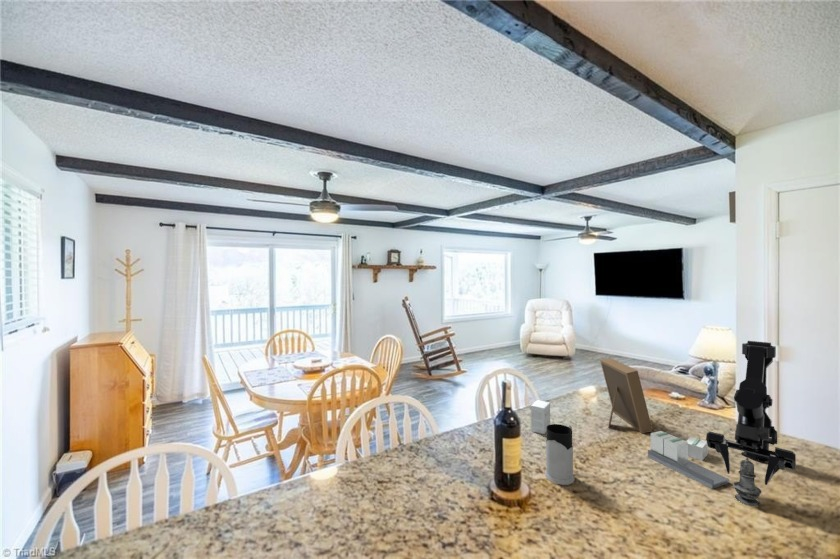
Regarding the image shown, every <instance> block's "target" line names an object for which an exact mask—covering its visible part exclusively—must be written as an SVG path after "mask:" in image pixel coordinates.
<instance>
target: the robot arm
mask: <svg viewBox="0 0 840 559" xmlns="http://www.w3.org/2000/svg"><path fill="white" fill-rule="evenodd" d="M741 348H742V349H741V350H742V351H741V354H742V355H744V358H745V359H746V360H747V364H746V369H745V370H746V372H745V379H743V380H742V381H741V382H740V383H739V387H738V389H736V390H735V393H734V396H733V400H734V402H735V404H736V409H737V413H738V416H737V423H736V424H735V431H734V432H735V433H734V440H735V441H733V440H728V439H727V438H725V434H721V433H717V432H714V431H708V432H706V436H705V441H707V444H708V448H710V449H714V450H715V452H716V453H718V454H720V455H721V458H722V459H723V462H724V465H725V470H726V472H727V474H728V475H730V473H731V463H730V452H729V448H730V449H733V450H737V451H741V452H740V455H742V456H745V457H746V458H748V459H749V458H750V459H752V460H755V461H757V462H760V463H763V464H766V463H767V467H766V468H767V469H766V472H765V475H764V485H765V486H768V484H769V483H770V482H771V480H772V478H773V477H774V475H775V474H776V473H777V472H778V471H780V470H782V471H785V470H786V469H788V470H793V471H794V470H796V462H797V461H796V459H797V454H796V453H795V452H794V451H793V450H790V449H789V450H788V449H784V448H780V447H777V446H776V447H775V448H774V450H770V445H772V446H774V445H777V444H778V430H776V428H775V426H773V424H772V422H773V421H772V419H771V418H770V416H769V415H768V414H767V412H766V411H767V409H768V408H771V407H772V406H773V403H774V402H773V400H774V399H772V397H771V395H770V394H768V388H767V370H768V368H769V367H770V365H771V364H772V363H773V362H774V359H775V358H776V357H777V347H776V346H772V342H767V341H766V342H765V341H756V340H747V342H746V343H744V342H743V343H742V346H741Z"/></svg>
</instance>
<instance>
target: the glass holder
mask: <svg viewBox="0 0 840 559" xmlns="http://www.w3.org/2000/svg"><path fill="white" fill-rule="evenodd" d="M545 440H546V441H545V461H546V462H545V472H544V477H545V478H546V480H548V481H550V482H551V483H554V484H558V485H563V486H565V485H572V484H573V483H574V482H575V476H574V447H573V446H574V445H573V427H572V425H570V424H567V425H563V424H559V423H558V424H557V423H553V424H551V423H550V425H548V426H547V432H546V439H545Z"/></svg>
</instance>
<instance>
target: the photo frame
mask: <svg viewBox="0 0 840 559" xmlns="http://www.w3.org/2000/svg"><path fill="white" fill-rule="evenodd" d="M599 362H600V365H601V369H602V373H603V377H604V381H605V386H606V388H607V392H608V396H609V400H610V404H611V412H610V415H609V421H608V428H607V429H610V428H611V425H612V419H613V413H614V414H615V415H616V416H617V417H618V418H620V419H622V420H623V421H625V423H627V424H629V425H630V426H631V427H633V428H634V429H636V431H638V432H640V434H646V433H650V432H651V433H652V432H653V427H652V423H651V418H650V415H649V410H648V407H647V403H646V399H645V395H644V391H643V390H644V389H643V387H642V386H643V385H642V384H641V379H640V375H639V370H638V369H635V368H633V367H631V366H629V365H626V364H624V363H622V362H619V361H618V360H615V359H614V358H611V357H606V358H603V359H600V361H599Z"/></svg>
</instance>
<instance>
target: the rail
mask: <svg viewBox="0 0 840 559" xmlns="http://www.w3.org/2000/svg"><path fill="white" fill-rule="evenodd" d="M647 457H648V458H649V459H651V460H653V461H655V462H657V463H659V464H660V465H663V466H665V467H667V468H669V469H672V470H673V471H675V472H678V473H679V474H681V475H683V476H685V477H687V478H689V479H691V480H692V481H696V482H698V483H700V484H701V485H703V486H706V487H707V486H708V487H707V488H710V489H711V488H712V489H711V490H713V489H716V488H719V487H722V486H725V485H727V484H730V478H729V477H726V476H724V475H722V474H719V473H717V472H715V471H713V470H711V469H709V468H707V467H705V466H702V465H699V464H697V463H695V462H693V461H691V460H689V456H688V442H687V440H684V439H682V438H681V437H677V436H674V435H672V434H669V433H668V432H666V431H665V432H664V431H662V430H659V431H655V432H651V433H650V449H647Z"/></svg>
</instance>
